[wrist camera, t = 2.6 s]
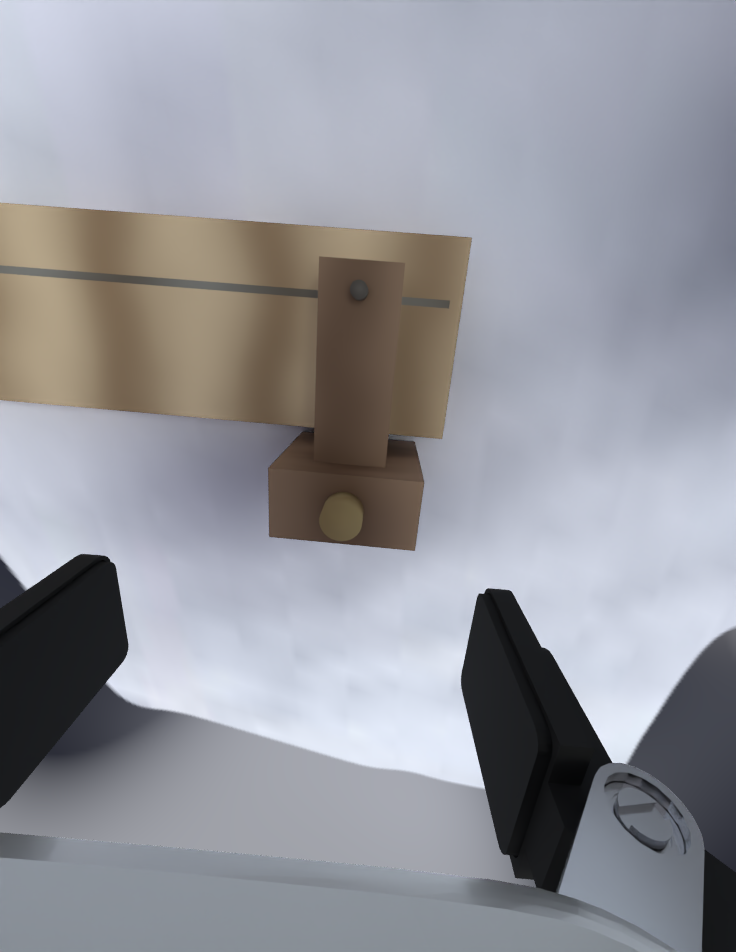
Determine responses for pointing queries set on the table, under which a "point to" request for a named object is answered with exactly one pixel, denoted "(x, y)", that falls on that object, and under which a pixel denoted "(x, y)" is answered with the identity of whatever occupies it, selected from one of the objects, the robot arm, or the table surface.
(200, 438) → the table surface
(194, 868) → the robot arm
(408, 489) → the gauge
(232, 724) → the table surface
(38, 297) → the board
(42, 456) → the table surface
